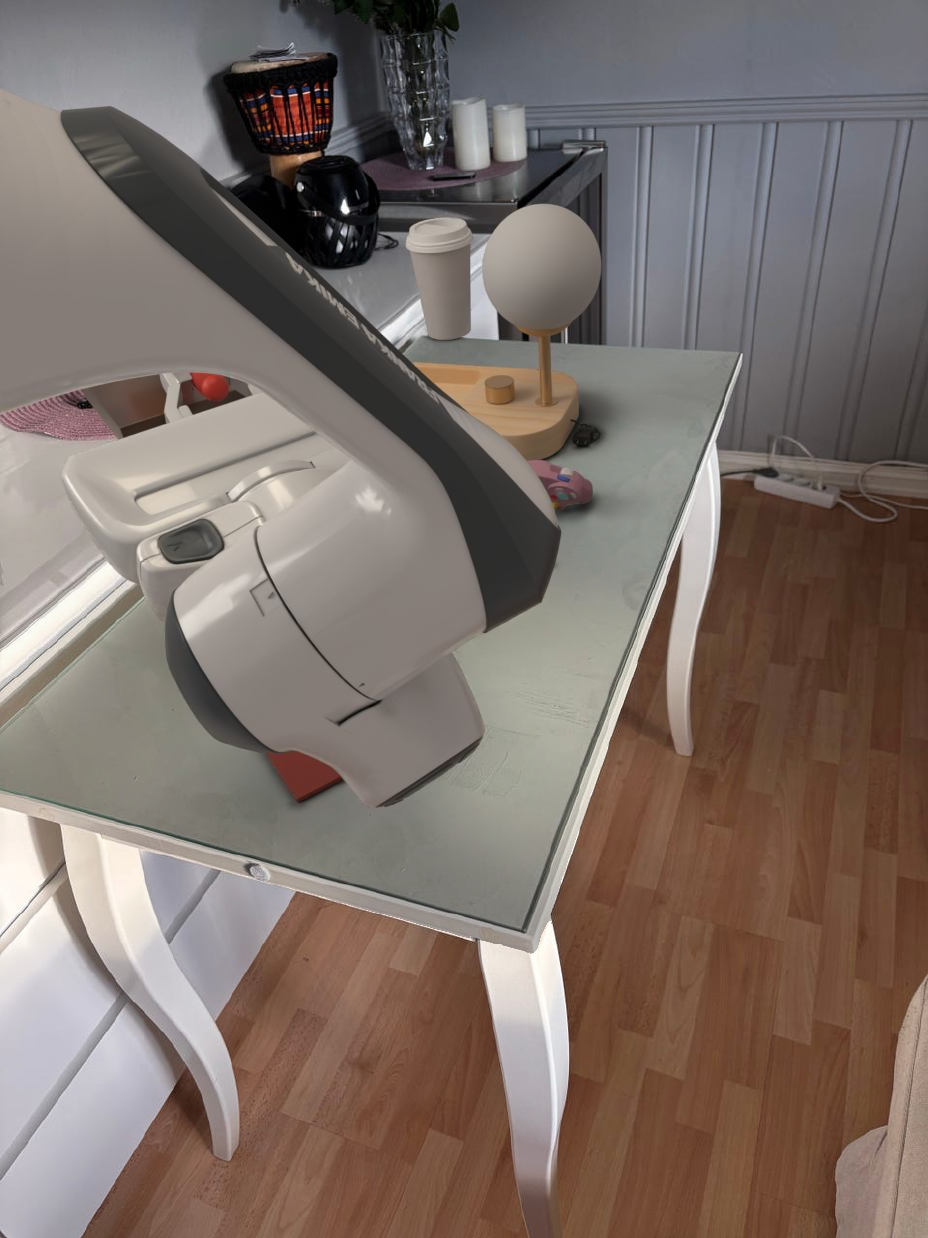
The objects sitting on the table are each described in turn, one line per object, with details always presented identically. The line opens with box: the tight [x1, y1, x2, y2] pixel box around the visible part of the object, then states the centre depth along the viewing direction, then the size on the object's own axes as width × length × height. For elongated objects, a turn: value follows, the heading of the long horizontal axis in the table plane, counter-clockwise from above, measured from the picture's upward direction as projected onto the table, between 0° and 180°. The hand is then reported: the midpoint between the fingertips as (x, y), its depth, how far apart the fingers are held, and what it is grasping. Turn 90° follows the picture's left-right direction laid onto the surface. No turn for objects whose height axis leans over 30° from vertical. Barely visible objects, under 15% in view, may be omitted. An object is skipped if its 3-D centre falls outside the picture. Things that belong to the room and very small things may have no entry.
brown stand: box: [81, 374, 246, 440], centre depth 74 cm, size 10×12×26 cm
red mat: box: [265, 751, 343, 803], centre depth 73 cm, size 10×12×1 cm
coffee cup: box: [405, 217, 474, 341], centre depth 130 cm, size 10×10×15 cm
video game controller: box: [527, 459, 594, 512], centre depth 94 cm, size 10×5×7 cm, turn 68°
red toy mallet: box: [190, 372, 229, 402], centre depth 60 cm, size 20×4×2 cm, turn 33°
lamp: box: [411, 203, 602, 461], centre depth 104 cm, size 33×17×25 cm, turn 71°
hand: (192, 363), depth 56 cm, fingers closed on red toy mallet, 1 cm apart
